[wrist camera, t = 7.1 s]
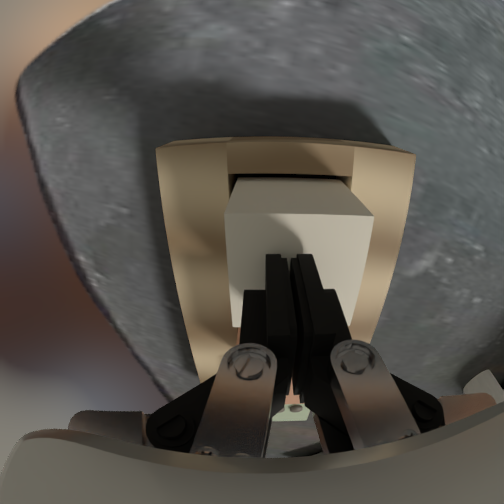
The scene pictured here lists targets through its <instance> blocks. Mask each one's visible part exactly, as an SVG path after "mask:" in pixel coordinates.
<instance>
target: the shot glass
mask: <svg viewBox="0 0 504 504" xmlns="http://www.w3.org/2000/svg"><path fill="white" fill-rule="evenodd" d="M463 392H464V394H474V393H487V394H489V395H491V396H492V397H493V398H494V399H495V401H496V404H498V403H501V402H504V391H503V390H502V388H501V386H500V385H499V383H498V382H497V380H496V379H495V377H494V376H493V374H492V372H491V371H490V370H485V371H483V372H481V373H479V374H478V375H476V376H475V377H474V378H472V379H471V380H470V381H469V382H468V383H467V384H466V385H465V387H464V388H463Z"/></svg>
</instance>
